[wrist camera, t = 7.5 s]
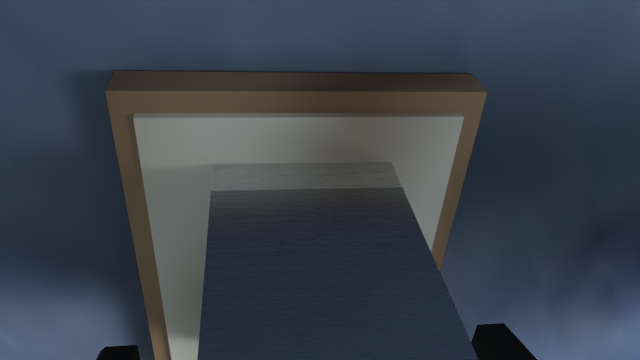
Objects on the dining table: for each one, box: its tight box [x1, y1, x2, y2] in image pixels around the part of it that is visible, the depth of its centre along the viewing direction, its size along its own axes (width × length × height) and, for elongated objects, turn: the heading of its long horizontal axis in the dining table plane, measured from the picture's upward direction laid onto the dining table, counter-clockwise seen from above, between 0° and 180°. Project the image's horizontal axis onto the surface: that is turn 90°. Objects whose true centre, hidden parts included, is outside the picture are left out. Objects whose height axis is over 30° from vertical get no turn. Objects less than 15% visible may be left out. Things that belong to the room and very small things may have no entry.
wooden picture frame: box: [105, 71, 488, 360], centre depth 14 cm, size 8×10×1 cm
